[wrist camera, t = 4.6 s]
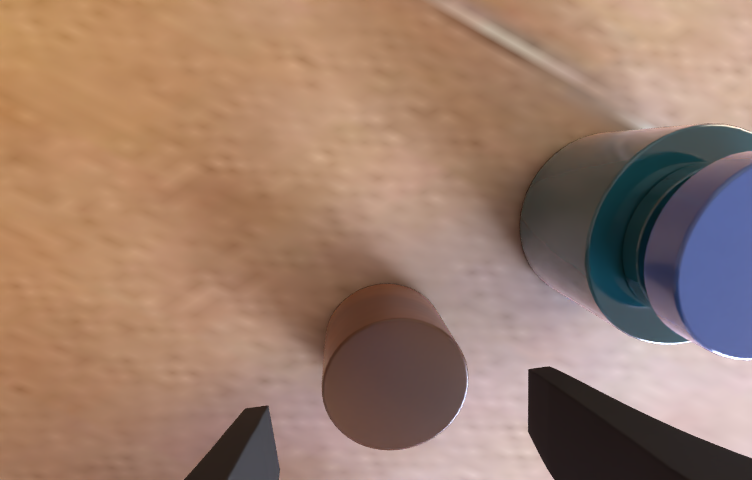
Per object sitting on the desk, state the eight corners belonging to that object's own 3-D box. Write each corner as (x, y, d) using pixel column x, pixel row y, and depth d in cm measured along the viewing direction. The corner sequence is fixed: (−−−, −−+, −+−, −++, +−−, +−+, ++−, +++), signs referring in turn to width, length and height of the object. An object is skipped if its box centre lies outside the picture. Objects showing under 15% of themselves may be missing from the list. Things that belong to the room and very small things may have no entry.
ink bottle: (589, 326, 16) (744, 433, 10) (484, 225, 14) (590, 277, 8) (707, 211, 15) (952, 248, 9) (610, 93, 13) (823, 45, 8)
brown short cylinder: (387, 411, 15) (400, 475, 12) (300, 346, 14) (289, 398, 11) (465, 331, 15) (498, 377, 12) (381, 258, 14) (393, 288, 11)
